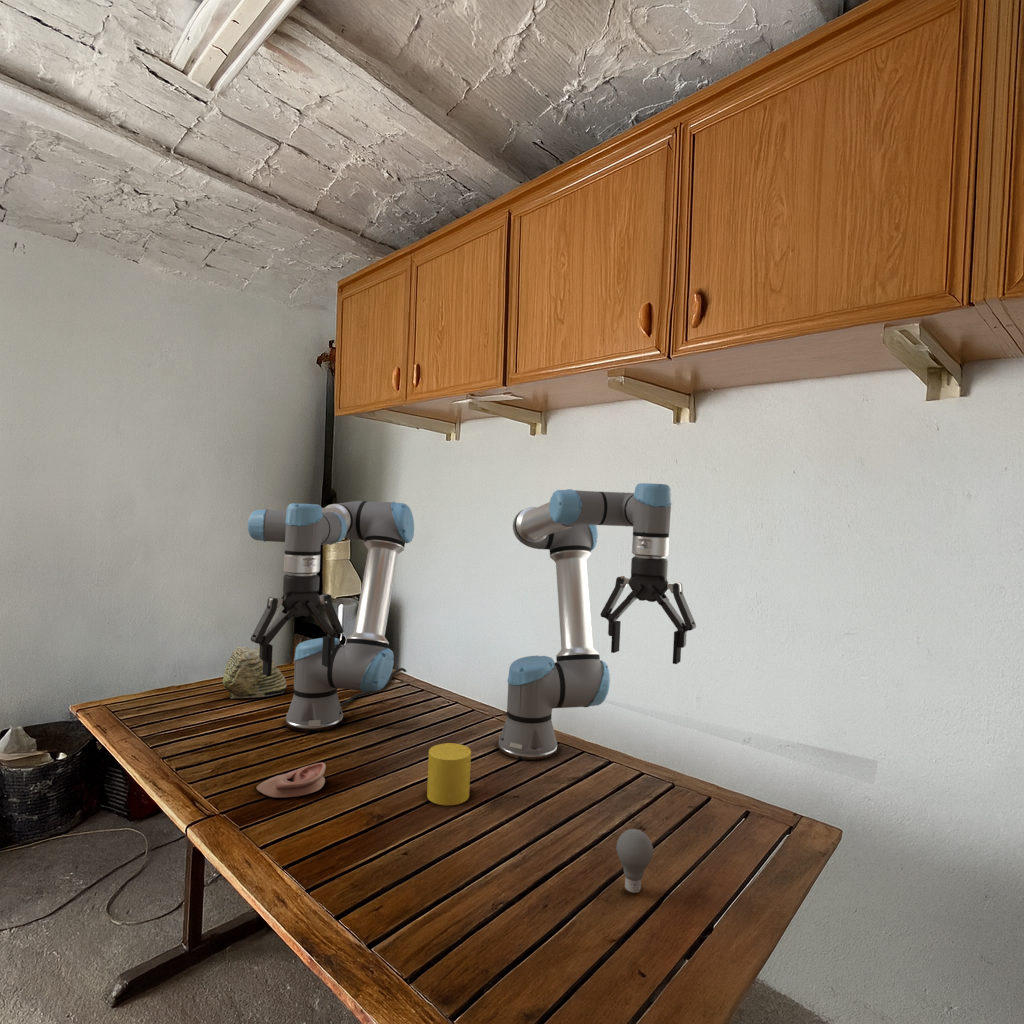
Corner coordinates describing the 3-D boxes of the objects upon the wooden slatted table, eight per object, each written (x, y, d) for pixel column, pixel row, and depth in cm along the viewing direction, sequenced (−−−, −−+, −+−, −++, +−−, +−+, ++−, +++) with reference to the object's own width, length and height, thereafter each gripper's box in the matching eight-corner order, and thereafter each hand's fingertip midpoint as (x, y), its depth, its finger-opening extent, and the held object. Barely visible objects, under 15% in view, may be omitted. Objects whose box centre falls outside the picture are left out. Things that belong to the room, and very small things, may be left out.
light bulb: (610, 879, 108) (613, 822, 108) (644, 879, 109) (647, 822, 109) (619, 902, 102) (622, 840, 102) (655, 901, 103) (658, 840, 103)
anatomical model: (248, 775, 133) (279, 754, 144) (247, 794, 133) (278, 771, 144) (306, 783, 130) (332, 761, 142) (305, 802, 130) (332, 779, 142)
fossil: (218, 695, 195) (220, 647, 195) (278, 685, 208) (279, 640, 207) (228, 703, 189) (230, 653, 188) (289, 692, 201) (290, 645, 201)
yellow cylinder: (452, 782, 143) (454, 740, 143) (477, 797, 137) (479, 753, 136) (418, 793, 137) (420, 749, 137) (443, 809, 130) (445, 763, 130)
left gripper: (251, 578, 128) (246, 683, 128) (360, 573, 145) (356, 665, 145) (237, 574, 133) (232, 675, 133) (344, 570, 150) (340, 659, 150)
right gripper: (588, 552, 137) (583, 650, 137) (704, 563, 123) (698, 671, 124) (603, 551, 143) (598, 644, 144) (714, 561, 130) (709, 664, 130)
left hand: (297, 670), depth 139 cm, fingers open, 13 cm apart
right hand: (644, 657), depth 134 cm, fingers open, 13 cm apart
